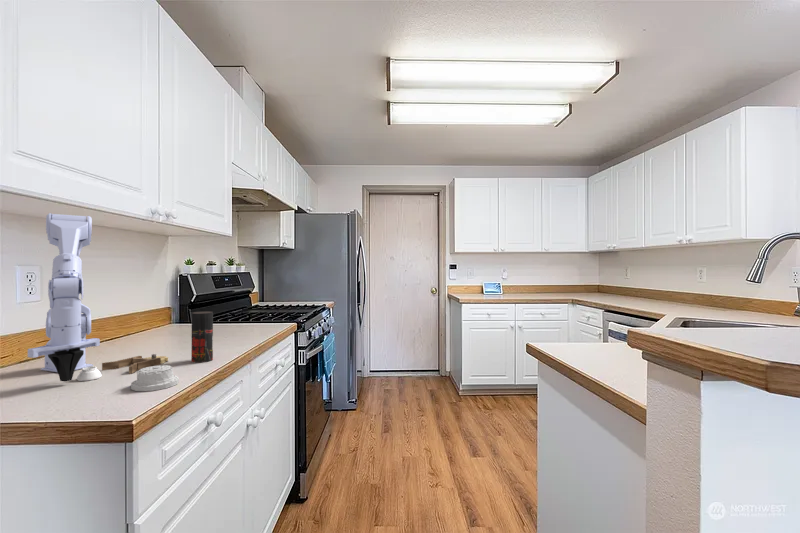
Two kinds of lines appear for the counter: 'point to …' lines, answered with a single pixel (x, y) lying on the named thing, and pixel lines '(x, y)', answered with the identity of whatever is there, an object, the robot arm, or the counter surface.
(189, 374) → the counter surface
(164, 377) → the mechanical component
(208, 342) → the deodorant
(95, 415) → the counter surface
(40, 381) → the counter surface
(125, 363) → the gear station
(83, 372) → the white jar
